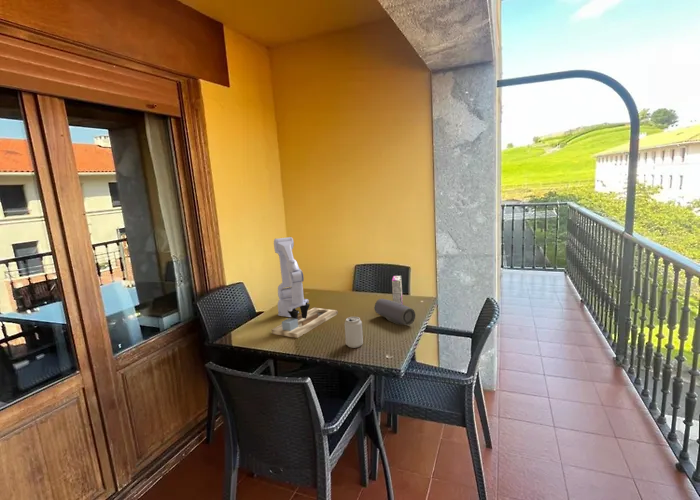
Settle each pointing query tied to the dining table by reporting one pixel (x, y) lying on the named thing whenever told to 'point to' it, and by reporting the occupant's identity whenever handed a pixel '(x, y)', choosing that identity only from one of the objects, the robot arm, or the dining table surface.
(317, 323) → the birch deck
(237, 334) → the dining table surface
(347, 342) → the can
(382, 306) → the bluetooth speaker
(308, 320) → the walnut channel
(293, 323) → the slate block
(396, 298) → the candy bar box
